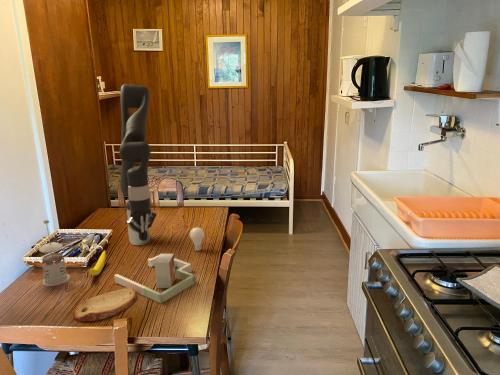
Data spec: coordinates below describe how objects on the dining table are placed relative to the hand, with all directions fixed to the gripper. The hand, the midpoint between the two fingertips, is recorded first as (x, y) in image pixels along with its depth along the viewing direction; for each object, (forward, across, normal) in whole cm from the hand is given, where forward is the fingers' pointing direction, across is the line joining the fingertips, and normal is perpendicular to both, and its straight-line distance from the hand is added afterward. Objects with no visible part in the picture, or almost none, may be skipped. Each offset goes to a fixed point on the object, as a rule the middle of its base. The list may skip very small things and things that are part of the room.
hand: (143, 240), depth 144 cm
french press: (+17, +20, -30) cm, 40 cm away
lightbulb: (+17, -30, -2) cm, 35 cm away
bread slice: (+17, +20, +3) cm, 27 cm away
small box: (+17, -2, +9) cm, 19 cm away
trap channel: (+17, -3, +5) cm, 17 cm away
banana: (+17, +7, -21) cm, 28 cm away
